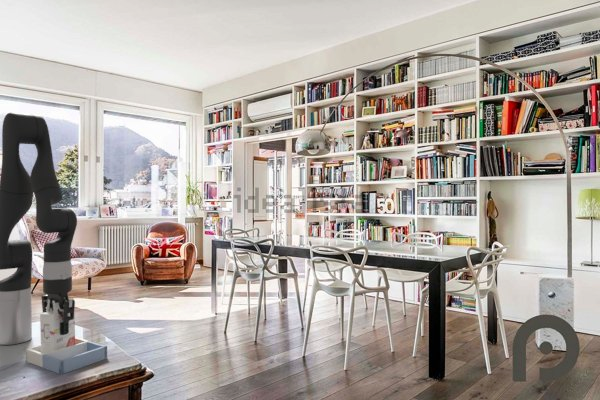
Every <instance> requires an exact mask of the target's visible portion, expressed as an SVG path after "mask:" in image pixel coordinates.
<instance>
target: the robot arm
mask: <svg viewBox="0 0 600 400" xmlns="http://www.w3.org/2000/svg"><path fill="white" fill-rule="evenodd" d="M1 130H2V133H1V137H2V138H1V140H2V141H1V147H2V148H1V149H2V150H1V151H2V152H1V153H2V154H1V155H2V157H1V158H2V159H1V170H0V271H1V270H10V269H16V271H14V273H13V274H11V275H9V276H7V277H6V278H3V279H1V280H0V345H3V346H10V345H11V346H12V345H18V344H22V343H25V342H28V341H30V340H31V339H32V338H33V337H32V336H33V333H32V332H33V331H32V329H33V328H32V326H33V324H32V323H33V322H32V276H33V275H32V274H33V273H32V272H33V248H32V243H31V242H30V241H29V240H28V239H15V240H12V239H11V240H10V236H11V234H12V232H13V230H14V228H15V227H16V225H17V224H19V222H20V221H21V220H22V219H23V218H24V216H25V215H26V214H27V213H28V212H29V210H30V209H31V208H32V205H33V199H34V197H35V209H36V210H35V211H36V212H35V223H36V224H35V225H36V227H37V228H38V230H39V231H41V232H42V233H44V234H56V233H57V235H56V238H55V239H52V240H49V241H47V242H45V243H44V245H43V266H42V292H43V294H44V295H41V308H42V313H45V312H47V311H50V310H53V304H55V303H58V302H59V307H60V309H64V311H60V310H59V309H58V315H59V318H60V335H65V334H68V333H69V321H70V320H73V319H74V308H75V307H76V302H75V299H73V300H69V299H70V298H69V296H68V293H69V292H71V291H72V289H73V268H72V267H73V265H72V259H71V258H72V257H71V256H72V253H71V252H72V251H71V250H72V248H71V247H72V243H73V240H74V236H75V232H76V229H77V225H78V217H77V215H76V212H74V210H72V209H70V208H52V205H55V204H58V203H60V202H61V201H62V200H63V192H62V190H61V186H60V183H59V180H58V178H57V174H56V170H55V169H56V168H55V164H54V157H53V150H52V145H51V143H52V142H51V139H50V138H51V137H50V131H49V126H48V124H47V122H46V120H45V118H44V117H43V116H41V115H38V114H31V113H20V112H8V113H7V114H5V116H4V117H3V121H2V129H1ZM21 144H22V145H34V147H36V152H37V153H36V154H37V157H36V159H35V162H34V165H33V167H32V169H31V170H30V171H31V172H30V174H29V172H28V171H27V169H26V168H25V166H24V164H23V163H22V160H21V155H20V145H21ZM75 309H76V308H75ZM69 313H70V315H69ZM62 314H64V316H63V315H62Z"/></svg>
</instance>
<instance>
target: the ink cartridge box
mask: <svg viewBox="0 0 600 400" xmlns="http://www.w3.org/2000/svg"><path fill="white" fill-rule="evenodd" d="M69 300H74V297H70V298H69ZM58 309H59V310H60V311H64V309H60V307H59V302H58V303H55V304H53V310H50V311H47V312H45V313H43V312H42V313H40V314H39V321H40V322H39V324H40V327H39V328H40V345H41V353H44V354H46V353H49V352H52V351H56V350H59V349H62V348H66V347H69V346H72V345H75V337H76V329H75V328H76V324H75V323H76V321H75V320H76V319H75V317H76V313H75V310H76V308H74V319H73V320H70V321H69V333H68V334H65V335H60V318H59V315H58ZM62 315H63V316H64V314H62ZM69 315H70V313H69Z"/></svg>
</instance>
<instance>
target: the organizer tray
mask: <svg viewBox="0 0 600 400" xmlns="http://www.w3.org/2000/svg"><path fill="white" fill-rule="evenodd" d="M106 359H108V346H107V345H104V344H101V343H97V342H94V341H90V340H87V339H83V338H80V337H77V336H75V345H72V346H69V347H66V348H62V349H59V350H56V351H52V352H49V353H46V354H44V353H41V344H39V345H36V346H31V347H28V348H25V362H27V363H29V364H33V365H35V366H37V367H40V368H43V369H46V370H48V371H51V372H53V373H56V374H58V375H63V374H66V373H69V372H72V371H75V370H78V369H80V368H84V367H86V366H89V365H93V364H95V363H98V362H101V361H103V360H106Z"/></svg>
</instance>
